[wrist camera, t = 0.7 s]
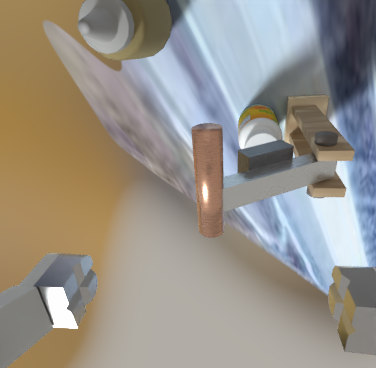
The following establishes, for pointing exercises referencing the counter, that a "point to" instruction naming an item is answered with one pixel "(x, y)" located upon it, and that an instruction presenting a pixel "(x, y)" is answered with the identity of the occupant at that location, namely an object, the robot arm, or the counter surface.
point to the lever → (246, 175)
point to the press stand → (316, 139)
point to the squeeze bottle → (125, 27)
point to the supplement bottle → (258, 126)
